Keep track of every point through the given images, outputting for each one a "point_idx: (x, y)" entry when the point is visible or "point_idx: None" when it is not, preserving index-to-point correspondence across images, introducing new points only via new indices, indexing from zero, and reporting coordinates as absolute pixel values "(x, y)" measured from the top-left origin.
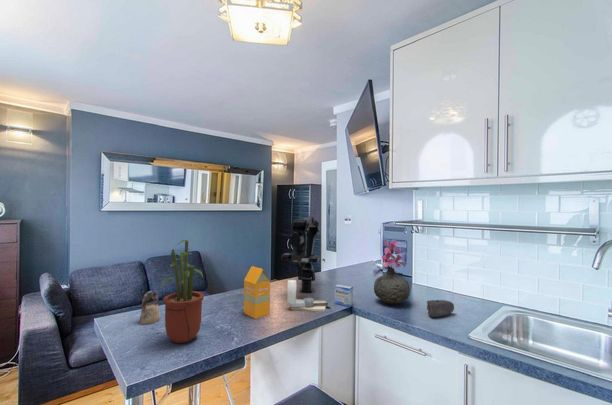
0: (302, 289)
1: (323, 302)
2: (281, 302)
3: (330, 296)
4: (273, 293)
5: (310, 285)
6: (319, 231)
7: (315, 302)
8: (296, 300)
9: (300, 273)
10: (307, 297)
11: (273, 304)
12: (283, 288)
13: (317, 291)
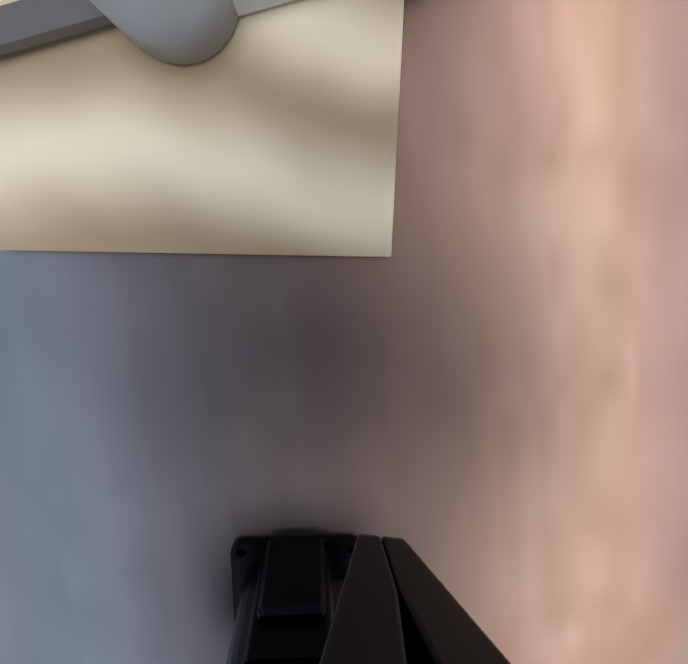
0: (336, 571)
1: (12, 173)
2: (529, 187)
3: (9, 465)
4: (624, 458)
5: (240, 623)
6: None
7: (115, 159)
8: (363, 204)
9: (367, 556)
10: (177, 17)
11: (616, 105)
12: (531, 611)
13: (181, 588)
